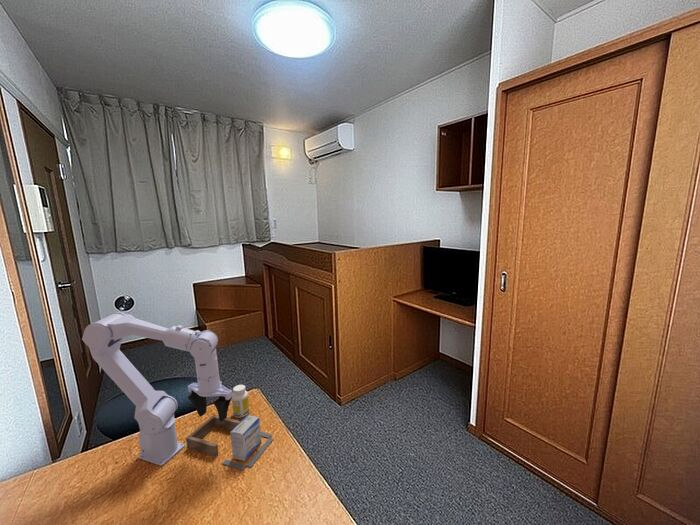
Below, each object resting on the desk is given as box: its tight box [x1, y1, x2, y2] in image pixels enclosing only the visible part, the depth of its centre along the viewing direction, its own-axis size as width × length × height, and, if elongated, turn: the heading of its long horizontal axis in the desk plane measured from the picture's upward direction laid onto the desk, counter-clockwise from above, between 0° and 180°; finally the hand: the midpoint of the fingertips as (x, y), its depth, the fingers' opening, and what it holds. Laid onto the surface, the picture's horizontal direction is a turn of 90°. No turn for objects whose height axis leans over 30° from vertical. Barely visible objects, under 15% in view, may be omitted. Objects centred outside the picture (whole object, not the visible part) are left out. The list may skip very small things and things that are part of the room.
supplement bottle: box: [231, 384, 250, 419], centre depth 105 cm, size 5×5×10 cm
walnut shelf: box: [185, 414, 242, 458], centre depth 93 cm, size 11×11×4 cm
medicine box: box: [229, 414, 262, 462], centre depth 89 cm, size 8×4×9 cm, turn 161°
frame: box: [221, 431, 274, 471], centre depth 89 cm, size 8×14×1 cm, turn 161°
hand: (213, 416), depth 88 cm, fingers open, 7 cm apart
